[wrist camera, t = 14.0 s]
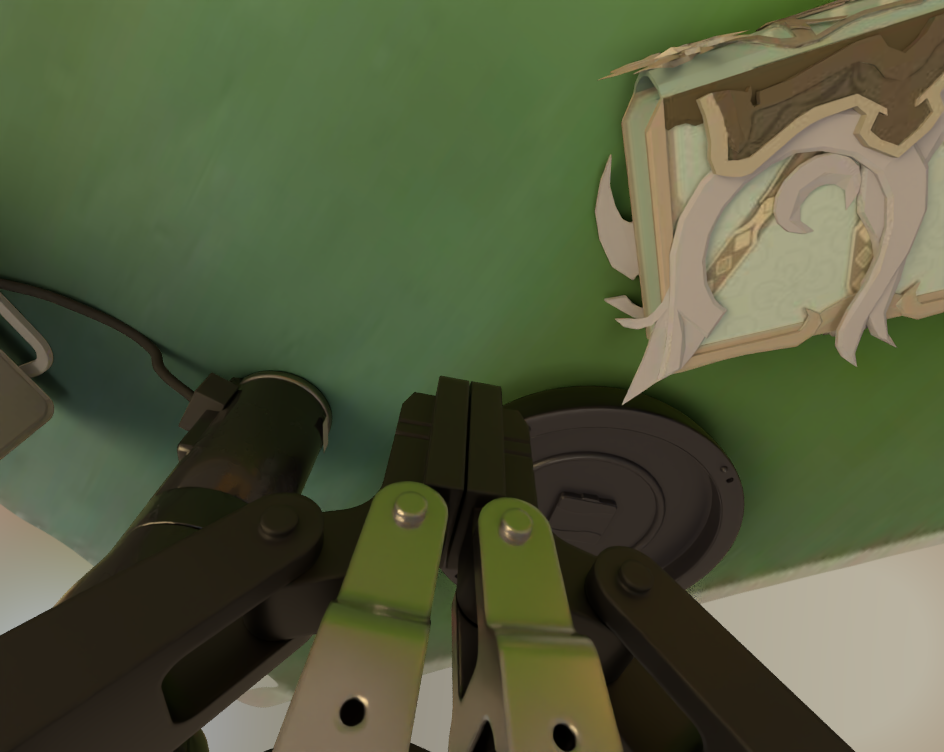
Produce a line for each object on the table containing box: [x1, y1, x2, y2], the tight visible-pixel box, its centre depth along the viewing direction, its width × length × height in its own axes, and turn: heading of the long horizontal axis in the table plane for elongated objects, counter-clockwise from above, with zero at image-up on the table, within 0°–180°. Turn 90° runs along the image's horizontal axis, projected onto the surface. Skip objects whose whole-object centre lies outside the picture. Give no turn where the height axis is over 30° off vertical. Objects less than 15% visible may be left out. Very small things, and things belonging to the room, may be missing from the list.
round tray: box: [440, 386, 744, 590], centre depth 48 cm, size 30×6×30 cm
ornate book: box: [595, 0, 944, 405], centre depth 30 cm, size 23×10×30 cm
